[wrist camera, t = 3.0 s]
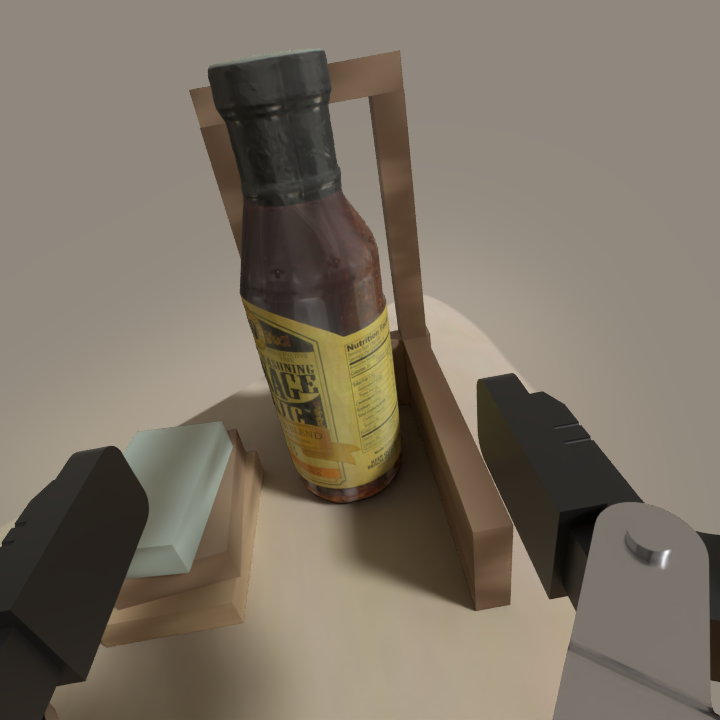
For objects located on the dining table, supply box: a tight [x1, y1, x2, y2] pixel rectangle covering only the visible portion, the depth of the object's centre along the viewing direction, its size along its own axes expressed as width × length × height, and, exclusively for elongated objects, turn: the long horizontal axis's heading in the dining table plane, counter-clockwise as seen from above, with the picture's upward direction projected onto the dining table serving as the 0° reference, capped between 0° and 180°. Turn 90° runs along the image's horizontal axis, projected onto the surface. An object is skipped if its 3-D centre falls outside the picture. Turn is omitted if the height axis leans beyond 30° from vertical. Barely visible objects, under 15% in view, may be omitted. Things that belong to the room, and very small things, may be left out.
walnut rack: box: [189, 51, 513, 611], centre depth 19 cm, size 10×15×20 cm, turn 6°
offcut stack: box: [101, 421, 264, 647], centre depth 22 cm, size 6×9×5 cm
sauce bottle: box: [208, 49, 402, 503], centre depth 20 cm, size 6×6×20 cm
